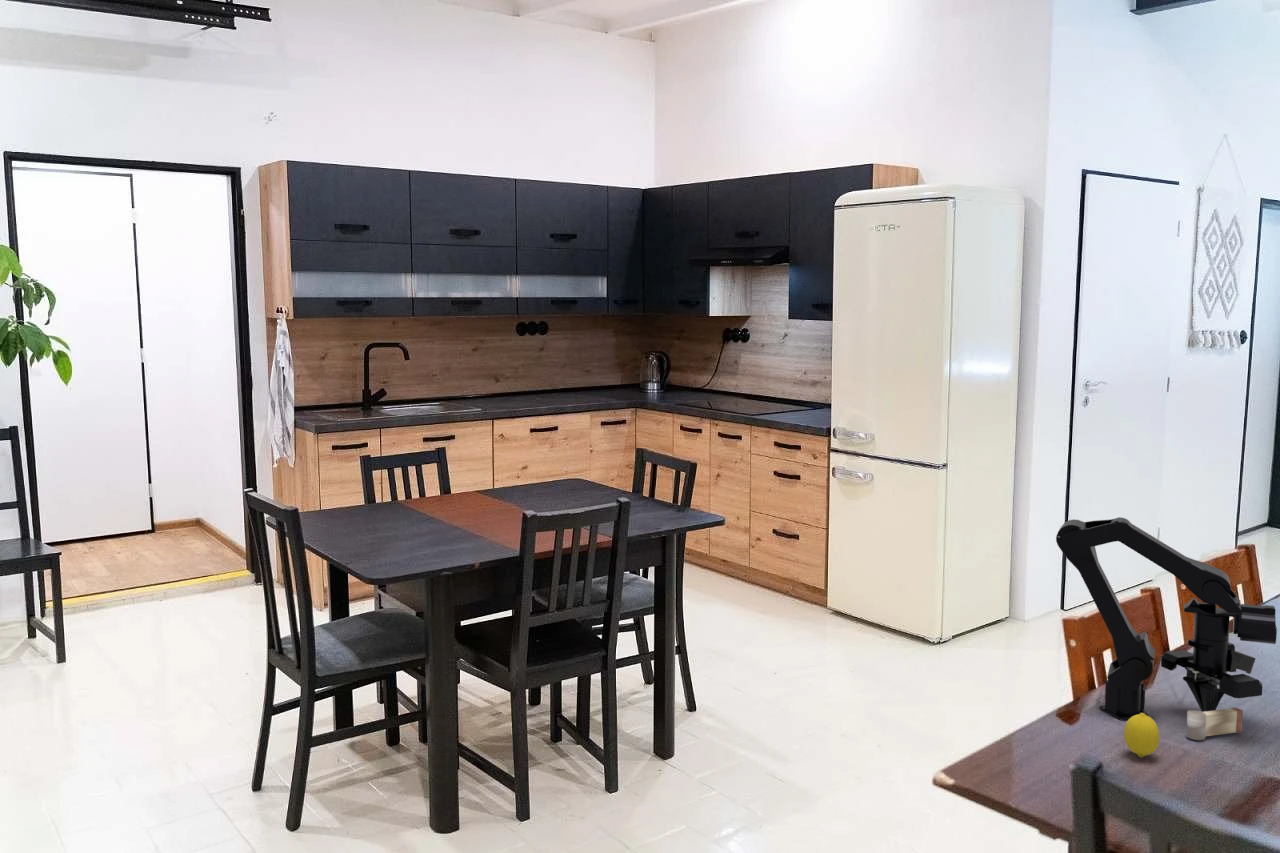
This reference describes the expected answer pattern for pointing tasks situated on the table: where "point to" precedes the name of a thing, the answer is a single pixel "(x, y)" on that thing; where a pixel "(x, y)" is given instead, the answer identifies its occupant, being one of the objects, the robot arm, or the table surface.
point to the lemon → (1141, 734)
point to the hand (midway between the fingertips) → (1208, 717)
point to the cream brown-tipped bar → (1213, 722)
